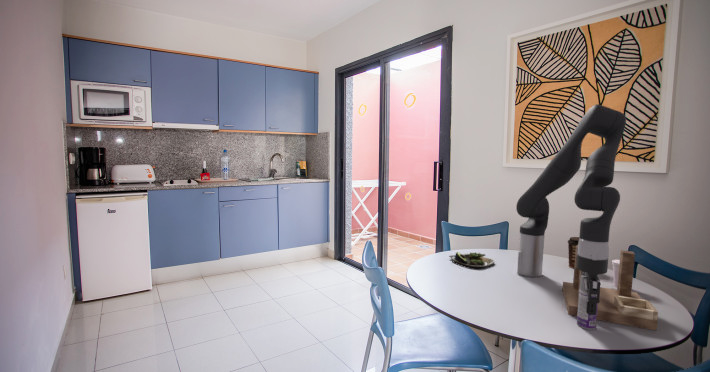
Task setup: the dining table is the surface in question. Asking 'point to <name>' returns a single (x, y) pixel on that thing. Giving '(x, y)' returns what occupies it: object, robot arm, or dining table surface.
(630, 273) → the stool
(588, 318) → the container
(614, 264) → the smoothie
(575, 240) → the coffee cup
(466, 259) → the salad plate
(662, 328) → the dining table surface
